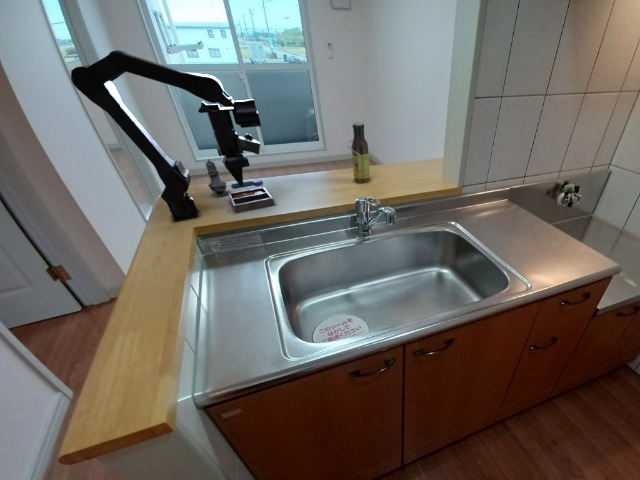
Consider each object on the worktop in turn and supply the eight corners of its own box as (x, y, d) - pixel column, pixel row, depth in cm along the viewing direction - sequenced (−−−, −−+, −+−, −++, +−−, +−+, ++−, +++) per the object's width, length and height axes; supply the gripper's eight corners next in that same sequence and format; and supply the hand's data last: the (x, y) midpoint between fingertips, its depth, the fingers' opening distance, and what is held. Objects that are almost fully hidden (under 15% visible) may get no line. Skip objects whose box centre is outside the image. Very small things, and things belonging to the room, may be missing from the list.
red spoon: (235, 202, 108) (234, 197, 107) (234, 199, 110) (232, 194, 109) (264, 196, 112) (263, 192, 111) (263, 193, 114) (261, 189, 113)
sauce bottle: (352, 178, 127) (347, 122, 115) (368, 177, 129) (364, 120, 116) (356, 184, 122) (350, 125, 110) (372, 182, 124) (368, 124, 111)
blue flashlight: (232, 190, 101) (231, 186, 100) (231, 187, 102) (229, 182, 101) (264, 185, 104) (263, 180, 103) (262, 182, 106) (260, 177, 105)
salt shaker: (217, 198, 112) (203, 162, 105) (208, 194, 115) (194, 159, 108) (233, 193, 116) (221, 158, 108) (224, 189, 119) (212, 155, 111)
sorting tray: (236, 213, 103) (233, 205, 101) (230, 200, 111) (227, 193, 109) (274, 205, 108) (272, 198, 106) (266, 193, 116) (264, 186, 114)
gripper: (260, 132, 89) (274, 188, 99) (247, 120, 102) (260, 172, 111) (216, 137, 85) (235, 195, 95) (208, 124, 97) (226, 177, 107)
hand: (241, 184), depth 102 cm, fingers closed on blue flashlight, 1 cm apart
